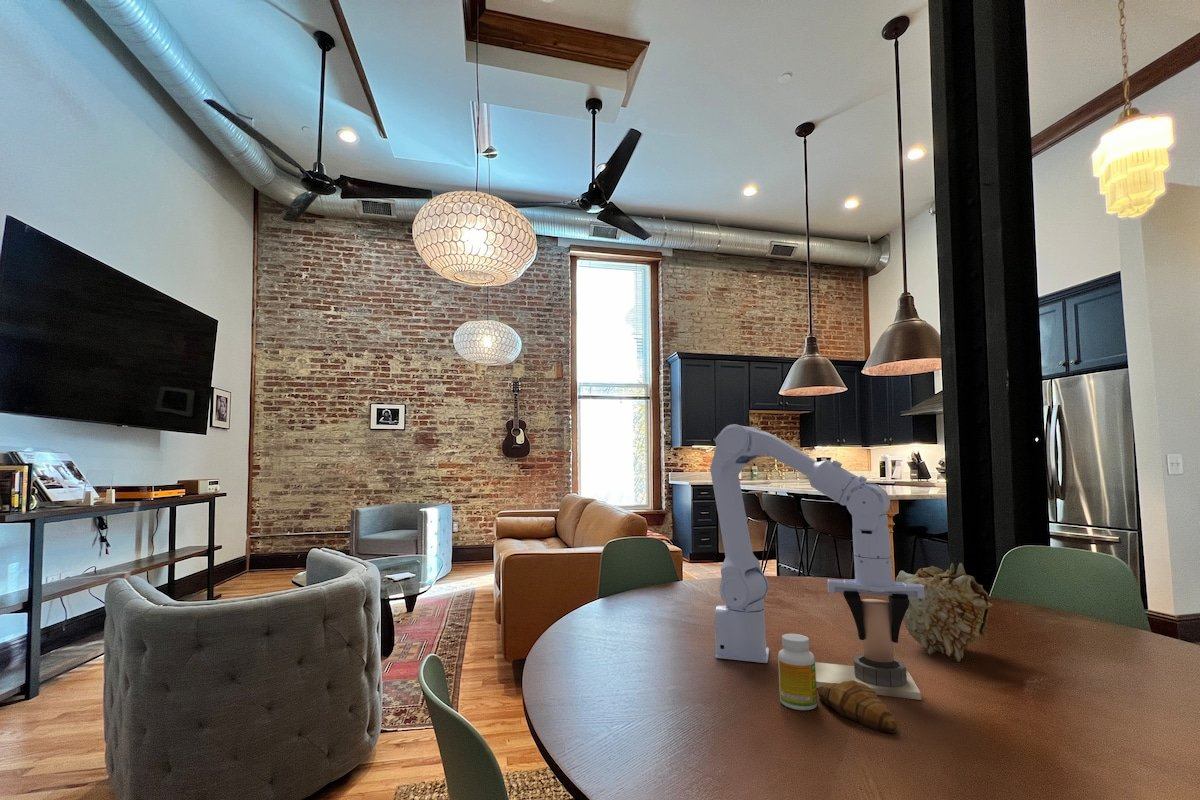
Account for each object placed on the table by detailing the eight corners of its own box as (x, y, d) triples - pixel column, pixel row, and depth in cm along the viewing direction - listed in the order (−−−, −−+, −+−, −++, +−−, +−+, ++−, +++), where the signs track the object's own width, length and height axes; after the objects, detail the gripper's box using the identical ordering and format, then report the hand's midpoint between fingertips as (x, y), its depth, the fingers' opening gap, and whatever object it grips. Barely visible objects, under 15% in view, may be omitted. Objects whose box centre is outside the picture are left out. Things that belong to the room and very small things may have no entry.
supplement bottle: (820, 712, 81) (817, 643, 82) (782, 709, 82) (779, 641, 83) (814, 697, 86) (810, 632, 87) (778, 695, 87) (775, 631, 88)
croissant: (913, 732, 75) (910, 693, 76) (876, 741, 73) (873, 701, 73) (838, 695, 88) (836, 662, 88) (804, 702, 85) (802, 668, 86)
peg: (866, 661, 90) (863, 603, 91) (862, 652, 94) (858, 598, 96) (896, 663, 89) (892, 605, 90) (890, 655, 93) (886, 599, 94)
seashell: (982, 563, 99) (1006, 566, 108) (880, 556, 112) (909, 560, 122) (993, 671, 94) (1017, 665, 104) (885, 651, 108) (915, 647, 117)
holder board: (784, 684, 91) (783, 662, 92) (785, 664, 100) (784, 644, 101) (921, 699, 85) (919, 675, 85) (908, 677, 94) (907, 656, 94)
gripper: (827, 557, 92) (832, 642, 90) (926, 561, 87) (933, 651, 86) (825, 551, 99) (829, 630, 97) (916, 555, 94) (922, 638, 92)
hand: (877, 639), depth 92 cm, fingers closed on peg, 4 cm apart
